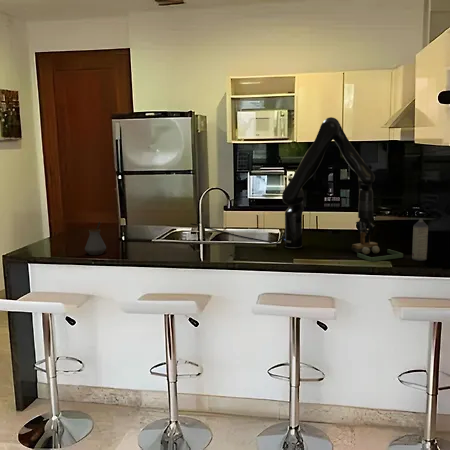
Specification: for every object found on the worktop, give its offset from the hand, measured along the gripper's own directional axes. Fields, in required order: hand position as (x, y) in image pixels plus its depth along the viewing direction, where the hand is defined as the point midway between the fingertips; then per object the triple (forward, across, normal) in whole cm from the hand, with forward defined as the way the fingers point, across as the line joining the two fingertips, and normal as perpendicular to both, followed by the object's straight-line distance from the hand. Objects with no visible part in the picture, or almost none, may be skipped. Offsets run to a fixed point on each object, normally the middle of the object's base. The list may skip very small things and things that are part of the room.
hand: (365, 241), depth 278 cm
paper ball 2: (+3, -5, -3) cm, 7 cm away
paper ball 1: (+3, -5, +3) cm, 7 cm away
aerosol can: (+6, -25, -14) cm, 29 cm away
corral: (+5, -12, 0) cm, 13 cm away
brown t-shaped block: (+5, 0, 0) cm, 5 cm away
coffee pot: (+5, +69, +127) cm, 144 cm away
